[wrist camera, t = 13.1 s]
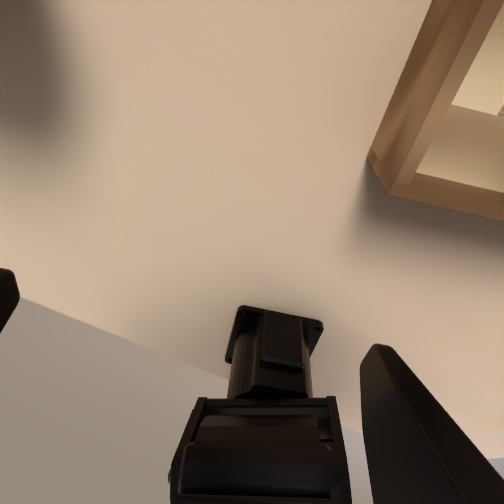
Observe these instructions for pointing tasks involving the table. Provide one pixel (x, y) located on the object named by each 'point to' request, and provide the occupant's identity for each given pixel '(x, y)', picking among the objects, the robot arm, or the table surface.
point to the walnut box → (449, 113)
